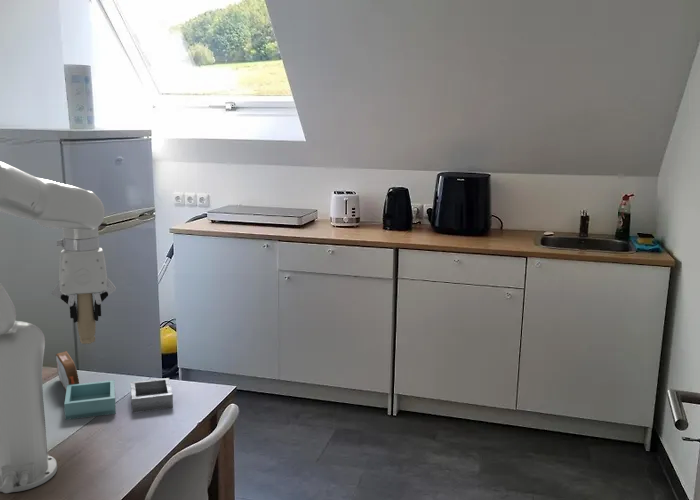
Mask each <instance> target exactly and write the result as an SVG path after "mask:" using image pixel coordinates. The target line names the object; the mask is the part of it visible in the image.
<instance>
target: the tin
mask: <svg viewBox="0 0 700 500" xmlns="http://www.w3.org/2000/svg"><path fill="white" fill-rule="evenodd" d="M55 360H56V367H57V375H58V379H59V381H60V383H61V385H62V387H63V388H64V391H66V390H67V385H73V384H80V380H79V374H78V369H77V367H76V364H75V361H74V360H73V359H72V357H71V356H70V354H69V353H68V351H67V350H65V351H62V352H57V353H56V354H55Z"/></svg>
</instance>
